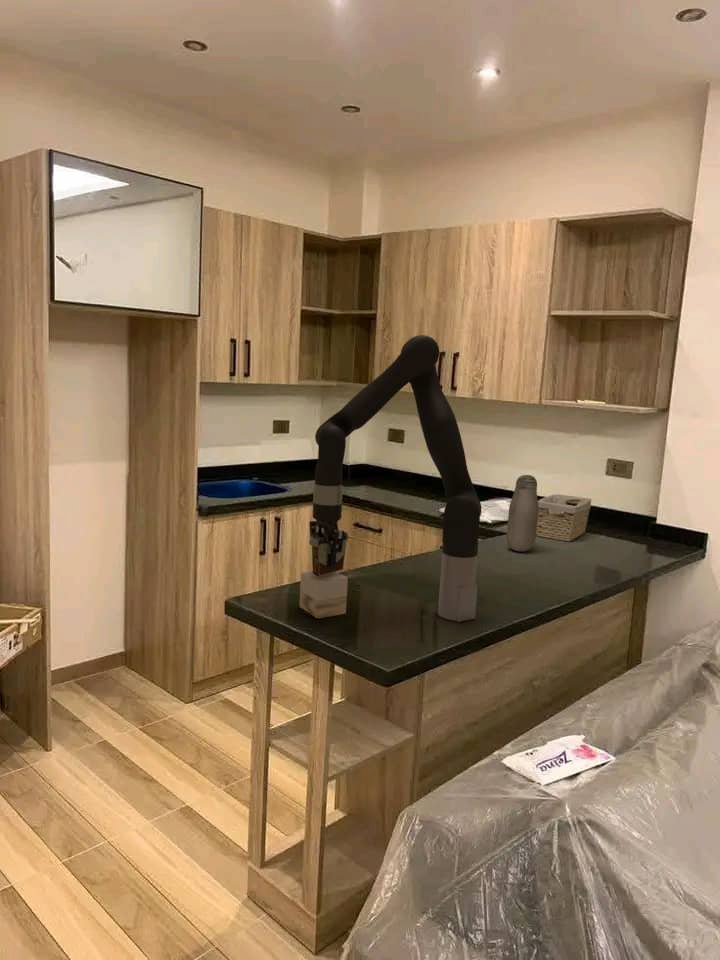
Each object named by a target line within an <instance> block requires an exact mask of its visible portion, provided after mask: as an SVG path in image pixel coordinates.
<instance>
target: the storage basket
mask: <svg viewBox="0 0 720 960" xmlns="http://www.w3.org/2000/svg"><path fill="white" fill-rule="evenodd" d="M567 503H568V504H567ZM570 504H572V505H570ZM538 506H539V514H538V522H537V530H536V537H537V536H538V537H543V538H547V539H553V540H557V541H565V542H571V541H573V540H575V539H577V538H578V537H580V536H581V535H583V534H584V533H585V532H586V527H587V524H588V519H589V513H590V509H591V507H592V499H591V498H588V497H587V498H586V497H580V496H573V495H565V494H559V493H557V494H551V495H548V496H546V497H543V498H541V499H539V500H538Z"/></svg>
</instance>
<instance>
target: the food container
mask: <svg viewBox="0 0 720 960" xmlns="http://www.w3.org/2000/svg"><path fill="white" fill-rule="evenodd" d="M344 532H345V534H344V540H343V547H342V552H338V553H337V554H336V566H335V567H331V568H329V567H327V555H328V550H327V544H326V540H324V538H322V537H320V536H316V532H315V533H313V534H312V536H311V538H310V537H309V542H308V543H309V545H310V546H311V557H312V558H311V562H312V564H311V565H312V567H311V568H312V571H313V574H314V575H316V576H323V575H326V574H330V573H334V572H341V571H344V565H345V556H346V549H347V543H348V542H347V541H349V535H348V532H346V531H344ZM328 541H333V539H328ZM337 547H338V545H337ZM331 549H332V544H331Z"/></svg>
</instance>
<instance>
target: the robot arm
mask: <svg viewBox="0 0 720 960" xmlns="http://www.w3.org/2000/svg"><path fill="white" fill-rule="evenodd" d="M439 347H440V346H439V345H438V343H437V341H436V340H435V339H434V338H433V337H431V336H429V335H424V334H421V335H420V334H419V335H415V336H412V337H411V338H409V339H408V340H407V341H406V342H405V343H404V344H403V346H402V347H401V350H400V354H398V356H397V357H396V358H395V360H394V361H392V363H391V364H390V365H389V366H388V367H387V368H386V369H385V370H384V371H383V372H382V373H381V374H379V375H378V376H377V377H376V378H374V379H373V380H372V381H371V382H370V383H368V384H367V385H366V386H365V387H363V389H361V390H360V391H359V392H358V393H357V394H355V396H353V397H352V398H351V399H349V401H348V402H347V403H346V404H345V405H344V406H343V407H342V408H341V409H340V410H338V411H337V412H336V413H334V414H333V415H332V416H331V417H328V419H327V420H325V421H324V422H323V423H322V424H320V426H319V427H318V428H317V430H316V432H315V437H314V439H315V443H316V445H318V448H317V450H318V451H317V452H318V454H317V463H316V465H315V469H314V470H315V471H314V486H313V487H314V488H313V492H312V493H313V496H312V497H313V500H312V518H313V520H311V521H309V522H308V523H309V524H308V525H309V539H310V538H311V536H312V534H313V533H315V532H316V536H320V537H322V538H324V540H326V544H327V550H328V555H327V567H329V568H331V567H335V566H336V554H337V553H338V552H342V547H343V540H344V534H345V532H346V531H344V530H340V529H339V526H338V522H339V521H340V520H342V508H343V464H344V459H345V455H346V454H345V453H346V452H345V451H346V443H347V441H346V438H347V437H348V436H350V435H351V434H352V433H353V432H354V431H357V430H358V429H361V428H362V427H364V426H365V425H366V424H367V423H368V422H369V421H370V420H371V419H373V417H375V415H377V414H378V413H379V412H380V411H381V409H383V408H384V407H385V405H387V404H388V403H389V401H390V400H392V399H393V397H395V395H397V394H398V392H400V391H401V390H402V389H403V388H404V387H405V386H407V385H408V384H409V385H410V387H411V389H412V392H413V395H414V396H413V397H414V400H415V405H416V410H417V416H418V418H419V423H420V426H421V430H422V431H421V432H422V433H423V434H422V435H423V438H424V441H425V445H426V448H427V450H428V453H429V455H430V457H431V459H432V461H433V463H434V466H435V467H436V469H437V472H438V474H439V476H440V477H441V481H442V484H443V489H444V494H445V500H446V504H445V507H444V511H443V522H442V540H441V541H442V554H441V566H440V567H441V568H440V578H439V579H440V582H439V594H438V607H437V614H438V616H439V617H441V618H443V619H446V620H449V621H454V622H456V623H461V622H465V621H469V620H470V621H471V620H475V619H476V611H477V598H478V587H479V585H478V584H477V583H476V575H477V565H478V563H477V562H478V553H479V536H480V535H479V532H480V524H481V523H480V521H481V515H482V510H483V509H482V504H481V501H480V498H479V496H478V494H477V491H476V488H475V487H474V483H473V482H472V478H471V476H470V472H469V469H468V465H467V460H466V459H467V458H466V453H465V449H464V445H463V439H462V435H461V431H460V429H459V425H458V423H457V419H456V415H455V413H454V411H453V409H452V407H451V404H450V403H449V401H448V399H447V397H446V396H445V394H444V392H443V390H442V387H441V385H440V380H439V376H438V371H437V367H436V364H437V363H438V360H439V358H440V348H439ZM328 539H333V541H328ZM331 544H332V549H331ZM337 545H338V547H337Z"/></svg>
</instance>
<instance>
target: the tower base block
mask: <svg viewBox="0 0 720 960" xmlns="http://www.w3.org/2000/svg"><path fill="white" fill-rule="evenodd" d="M347 596H348V595H347ZM347 596H343V597H337V598H331V599H326V600H320V601H317V600H315V599H314V598H312V597H310V596H308V595H307V594H305V593H303V592H302V591H300V590H299V607H300V608H302V609H304V610H305V611H307V612H308V613H310V614H311V615H312V616H311V615H310V614H309V615H310V616H311V617H313V616H314V617H315V619H316V618H318V619H323V618H327V617H328V618H329V617H333V616H334V617H335V616H340V615H345V614H346V613H347V598H348V597H347ZM300 608H299V609H300ZM302 609H301V610H302ZM305 611H304V612H305ZM307 612H306V613H307ZM308 613H307V614H308ZM314 617H313V618H314Z"/></svg>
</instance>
